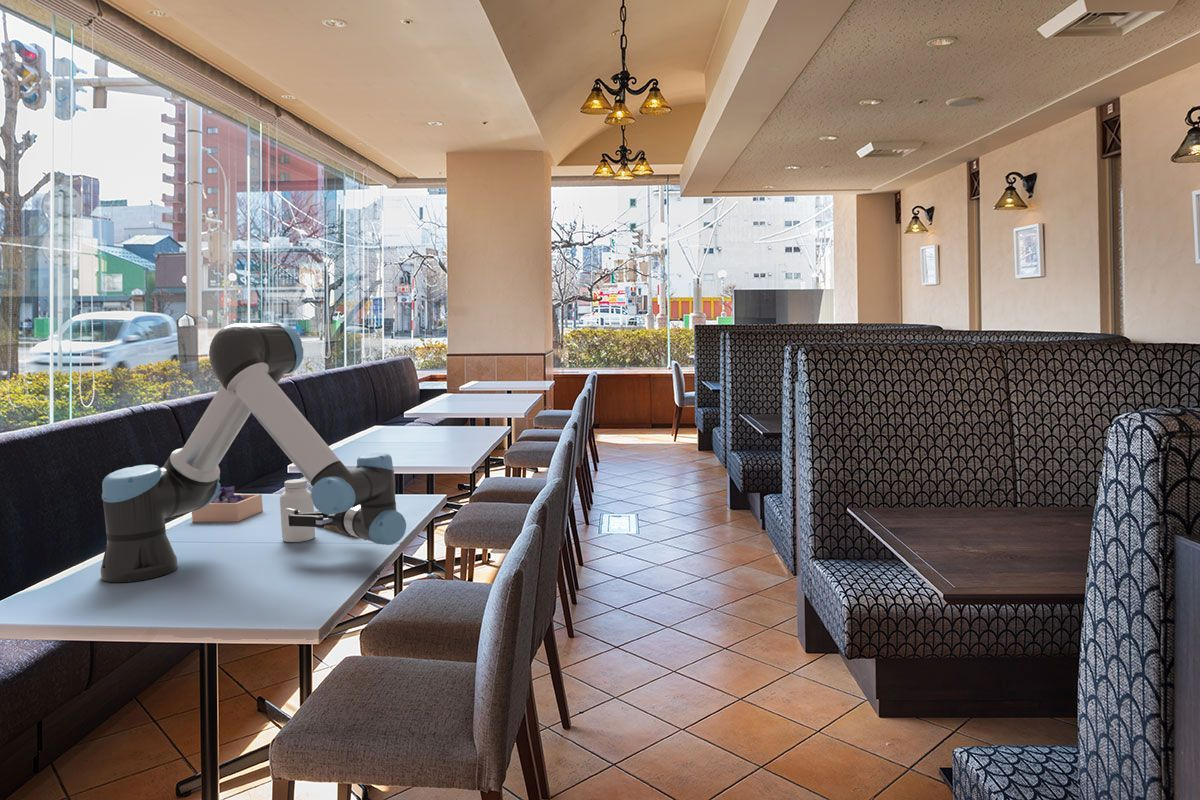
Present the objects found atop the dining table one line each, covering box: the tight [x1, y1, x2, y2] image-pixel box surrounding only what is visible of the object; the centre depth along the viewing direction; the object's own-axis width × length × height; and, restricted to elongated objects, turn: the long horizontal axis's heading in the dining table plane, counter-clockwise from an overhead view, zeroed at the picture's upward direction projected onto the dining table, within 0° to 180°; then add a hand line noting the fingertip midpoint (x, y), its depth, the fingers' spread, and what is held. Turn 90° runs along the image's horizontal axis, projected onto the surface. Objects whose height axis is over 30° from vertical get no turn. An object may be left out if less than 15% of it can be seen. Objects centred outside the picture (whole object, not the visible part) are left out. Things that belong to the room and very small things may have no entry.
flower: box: [214, 485, 244, 503], centre depth 248 cm, size 9×9×10 cm
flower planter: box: [191, 493, 264, 523], centre depth 247 cm, size 13×14×5 cm
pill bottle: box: [279, 478, 316, 543], centre depth 216 cm, size 8×8×15 cm
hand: (314, 508), depth 209 cm, fingers open, 13 cm apart
